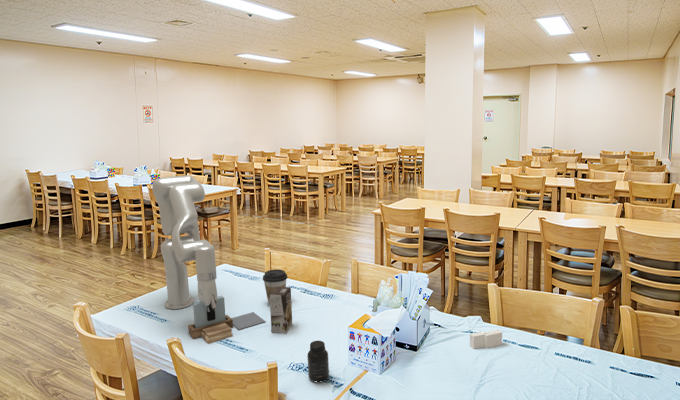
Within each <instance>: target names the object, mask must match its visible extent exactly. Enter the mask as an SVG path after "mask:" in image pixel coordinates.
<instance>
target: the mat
mask: <svg viewBox="0 0 680 400" xmlns="http://www.w3.org/2000/svg"><path fill="white" fill-rule="evenodd" d="M230 318H231V319H232V320H233V328H234V327H235V329H236V330H237V331H241V330H245V329H249V328H252V327H255V326H258V325H262V324H265V323H266V322H267V321H266V320H264V318H262V317H260V315H258V314H257V313H255V312H254V311H252V312H249V313H248V312H247V313H245V314H240V315H239V316H238V315H237V316H235V317H230Z"/></svg>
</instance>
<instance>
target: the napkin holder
mask: <svg viewBox="0 0 680 400" xmlns="http://www.w3.org/2000/svg"><path fill="white" fill-rule="evenodd" d="M502 342H503V332H502V331H501V330H499V329H495V330H490V331H483V332H482V331H478V332H472V333H470V334H469V347H470V348H471V349H473V350H474V349H475V350H476V349H479V348H485V349H489V348H492V347H498V346H501V345H503V343H502Z"/></svg>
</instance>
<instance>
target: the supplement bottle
mask: <svg viewBox="0 0 680 400" xmlns="http://www.w3.org/2000/svg"><path fill="white" fill-rule="evenodd" d="M329 365H330V363H329V352H328V350H326V344H325V342H324V341H322V340H313V341H311V342H310V344H309V350H308V352H307V375H308V379H309V378H310V379H311V380H313V381H317V382H319V383H321V382H320V381H324V380H326V379H327V378H328V379H329V377H330V367H329ZM310 379H309V380H310ZM328 379H327V380H328ZM311 380H310V381H311ZM327 380H326V381H327ZM313 381H312V382H313ZM317 382H316V383H317ZM324 382H325V381H324Z"/></svg>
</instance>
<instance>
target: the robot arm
mask: <svg viewBox="0 0 680 400" xmlns="http://www.w3.org/2000/svg"><path fill="white" fill-rule="evenodd" d="M151 186H152V187H151V188H152V190H151V191H152V195H153V197H154V198H155V200H156V203H157V205H158V209H159V217H160V219H159V220H160V224H161V225H160V226H161V231H162V233H163V234H164V235H165V236H171V238H168V239H166V240H164V241H162V243H161V244H160V250H161V251H160V252H161V255H162V259H163V263H164V264H163V265H164V271H165V281H166V290H167V291H166V292H167V293H166V294H167V300H166V302H164V306H165V308H166V309H167V310H168V309H169V310H180V309H185V308H188V307H190V306H193V303H194V299H193V298H192V297H190V288H189V287H190V286H189V273H188V267H187V264H186V263H187V262H192V261H195V270H196V280H197V298H198V302H199V301H201V302H202V303H203V304H204V305H205V306H207V320H208V321H211V320H215V319H216V318H215V308H216V305H215V304H217V297H218V291H217V283H216V280H217V278H218V277H217V276H218V275H217V264H216V253H215V252H216V249H215V247H214V245H213V244H211V242H209V240H207V239H201V236H200V235H201V234H200V226H199V220H198V216H199V215H198V212H197V209H196V206H195V203H201V202H203V201H204V199H205V197H206V193H205V189H204V187H203V185H202V183H201V182H200V181H198V180H197V179H196V178H195V177H193V176H192V175H189V174H188V175H176V176H175V175H174V176H166V177H160V178H156V179H155V180H154V181H153V182H152V185H151ZM182 234H187V235H184V236H181V235H182ZM211 305H212V306H211ZM209 306H211V307H210V308H209Z"/></svg>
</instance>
